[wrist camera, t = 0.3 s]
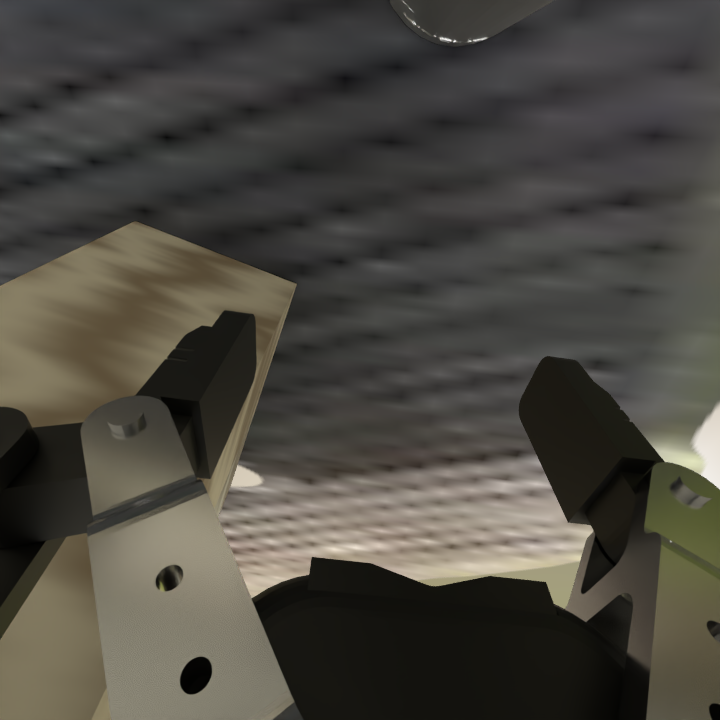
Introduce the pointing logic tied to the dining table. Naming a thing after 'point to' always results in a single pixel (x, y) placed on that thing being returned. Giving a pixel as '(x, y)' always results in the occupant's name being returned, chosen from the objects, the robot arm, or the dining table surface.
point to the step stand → (93, 389)
